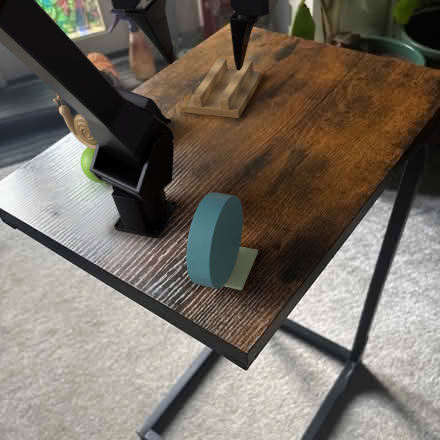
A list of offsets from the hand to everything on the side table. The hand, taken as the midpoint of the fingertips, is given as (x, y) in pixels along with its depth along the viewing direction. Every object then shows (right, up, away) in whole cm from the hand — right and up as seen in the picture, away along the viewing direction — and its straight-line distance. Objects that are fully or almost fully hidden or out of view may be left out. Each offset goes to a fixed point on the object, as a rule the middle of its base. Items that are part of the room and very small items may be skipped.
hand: (204, 65), depth 57 cm
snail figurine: (-15, -11, +10) cm, 21 cm away
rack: (+3, +5, +20) cm, 21 cm away
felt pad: (+3, -25, -2) cm, 25 cm away
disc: (+1, -22, -7) cm, 24 cm away
